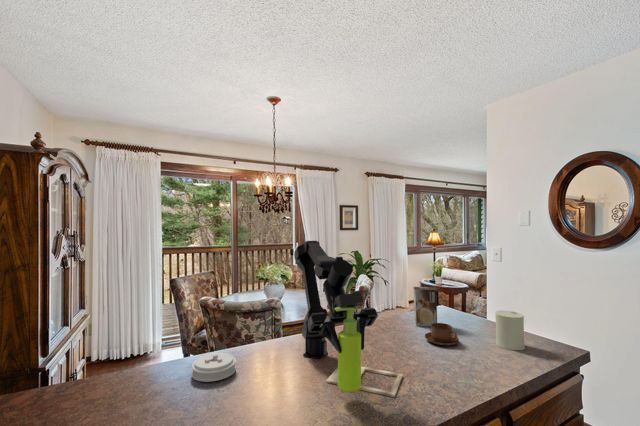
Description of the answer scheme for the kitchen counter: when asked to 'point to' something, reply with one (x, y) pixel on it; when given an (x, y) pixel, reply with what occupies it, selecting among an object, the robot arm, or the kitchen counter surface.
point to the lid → (213, 367)
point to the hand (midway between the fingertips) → (351, 350)
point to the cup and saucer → (441, 334)
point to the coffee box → (425, 306)
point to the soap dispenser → (349, 353)
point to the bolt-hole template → (334, 380)
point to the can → (510, 330)
